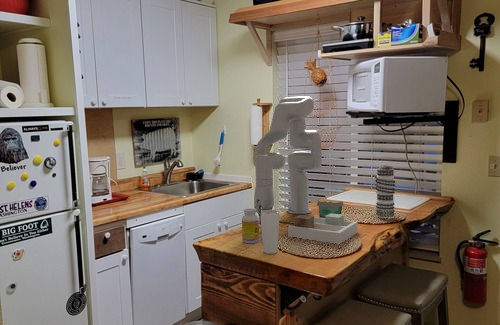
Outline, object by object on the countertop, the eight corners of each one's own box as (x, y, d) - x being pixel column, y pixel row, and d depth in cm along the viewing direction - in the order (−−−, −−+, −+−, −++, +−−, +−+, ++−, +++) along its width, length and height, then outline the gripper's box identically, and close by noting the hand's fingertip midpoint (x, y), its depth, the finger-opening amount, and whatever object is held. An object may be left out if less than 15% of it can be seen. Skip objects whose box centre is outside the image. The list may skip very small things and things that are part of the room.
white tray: (288, 236, 171) (288, 226, 170) (309, 226, 187) (309, 216, 187) (339, 244, 159) (339, 232, 158) (357, 232, 175) (357, 221, 175)
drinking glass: (266, 256, 147) (265, 214, 145) (258, 251, 153) (257, 210, 152) (283, 253, 149) (282, 212, 148) (274, 248, 156) (273, 208, 154)
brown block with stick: (258, 226, 181) (258, 213, 181) (265, 223, 186) (265, 210, 186) (307, 233, 168) (307, 219, 168) (314, 230, 173) (313, 216, 173)
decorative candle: (372, 215, 206) (373, 165, 204) (391, 215, 206) (392, 164, 203) (377, 219, 197) (378, 167, 195) (397, 219, 197) (398, 166, 194)
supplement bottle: (256, 244, 162) (255, 211, 160) (240, 243, 163) (239, 211, 162) (260, 239, 168) (260, 208, 167) (245, 238, 170) (244, 207, 169)
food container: (314, 223, 192) (314, 202, 191) (317, 220, 198) (317, 199, 197) (341, 225, 188) (341, 203, 187) (343, 222, 194) (343, 200, 193)
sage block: (325, 230, 174) (325, 216, 174) (330, 227, 179) (330, 213, 179) (338, 232, 171) (338, 217, 170) (344, 228, 176) (344, 214, 175)
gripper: (266, 179, 190) (267, 219, 192) (246, 184, 176) (247, 227, 178) (281, 180, 186) (281, 221, 188) (261, 185, 172) (262, 229, 174)
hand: (265, 223), depth 183 cm, fingers closed on brown block with stick, 3 cm apart
